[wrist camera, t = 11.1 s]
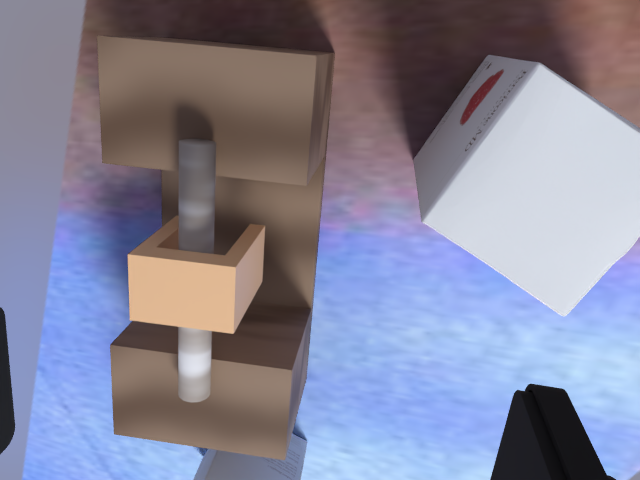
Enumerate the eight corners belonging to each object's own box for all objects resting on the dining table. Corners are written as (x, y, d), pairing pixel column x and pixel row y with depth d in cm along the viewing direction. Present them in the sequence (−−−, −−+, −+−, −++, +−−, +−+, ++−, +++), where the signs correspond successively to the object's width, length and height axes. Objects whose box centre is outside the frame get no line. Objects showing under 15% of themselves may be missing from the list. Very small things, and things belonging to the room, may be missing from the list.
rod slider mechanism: (165, 37, 40) (77, 35, 29) (334, 52, 39) (311, 56, 28) (167, 359, 49) (100, 453, 38) (306, 379, 48) (279, 481, 37)
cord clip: (176, 215, 38) (127, 254, 31) (265, 225, 38) (235, 267, 31) (176, 270, 40) (129, 320, 32) (262, 281, 39) (233, 333, 32)
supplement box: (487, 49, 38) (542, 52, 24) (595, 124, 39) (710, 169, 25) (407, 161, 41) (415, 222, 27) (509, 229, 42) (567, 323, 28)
